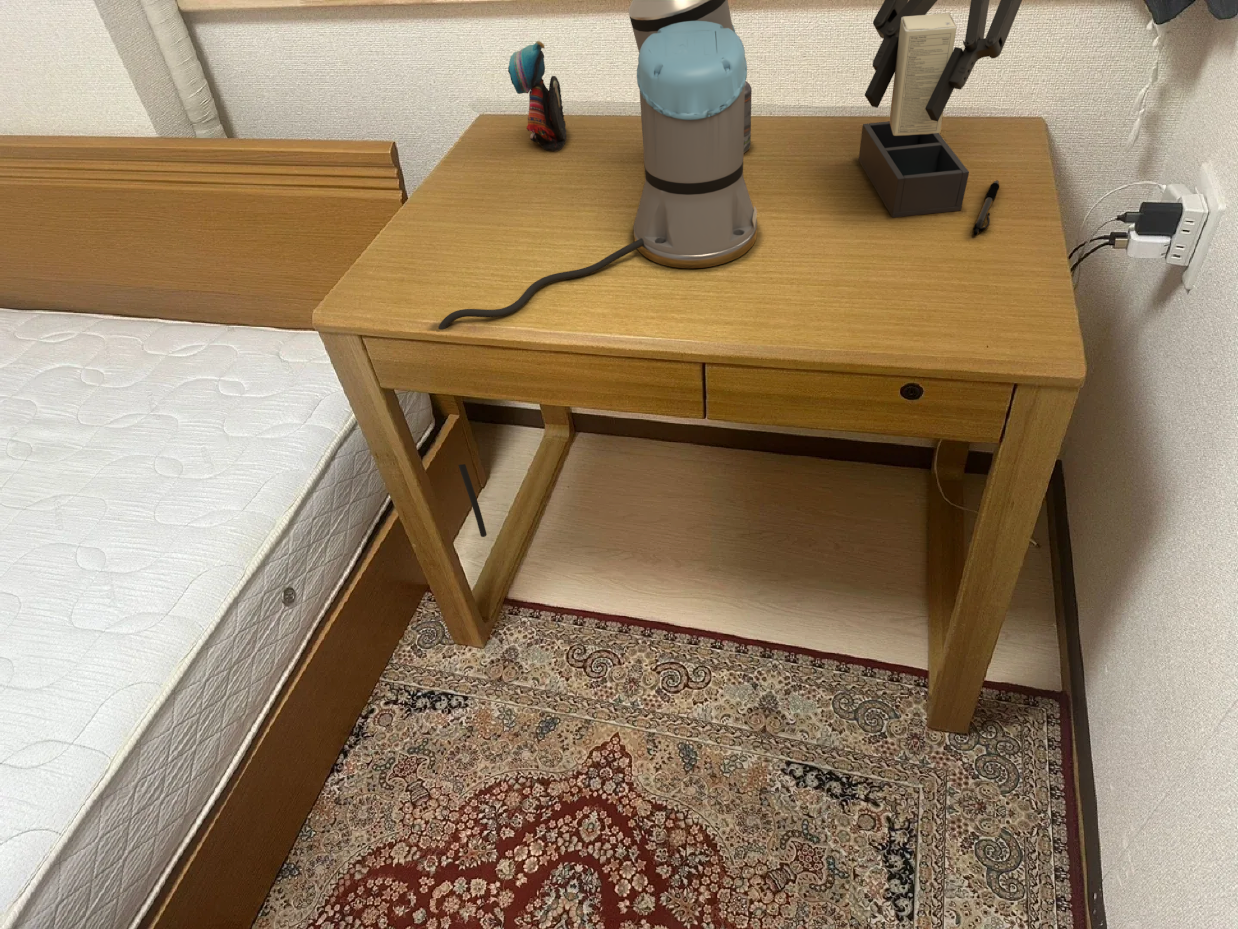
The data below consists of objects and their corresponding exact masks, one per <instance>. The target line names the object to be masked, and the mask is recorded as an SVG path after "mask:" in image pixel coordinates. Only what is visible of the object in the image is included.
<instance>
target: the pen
mask: <svg viewBox="0 0 1238 929" xmlns="http://www.w3.org/2000/svg"><path fill="white" fill-rule="evenodd" d="M999 189H1000V181H999V180H998V179H996V180H994V181H993V182H992V183H990V186H989V188H988V191H987V193H986V195H985V198H984V202H983V204H982V207H981V209H980V211H979V214H978V216H977V219H976V220H975V223H974V224H973V228H972V235H973V236H974V237H975V236H978V234H980V233H983V232H985V231H986V230H987V229H989V227H990V223H991V219H990V216H991V212H990V209H991V207H992V205H993V202H994V201H995V199H996V198H997V194H998V191H999ZM985 221H986V225H985Z"/></svg>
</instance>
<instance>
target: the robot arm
mask: <svg viewBox="0 0 1238 929" xmlns="http://www.w3.org/2000/svg"><path fill="white" fill-rule="evenodd" d="M937 2H938V0H884V1H883V3H882V4H881V6H880V8H879V10H878V12H877V13H876V15H875V17H874V19H873V21H872V24H873V27H874V28H875V30H876V32H877V34H878V35H879V37H880V38H881V39H882V41H881V43H880V45H879V48H878V49H877V51H876V54H875V56H874V57H873V60H872V67H873V69H874V74H873V76H872V78H871V79H870V82H869V85H868V87H867V88H866V90H865V93H864V96H865V99H867V101H868V103H869V105H870V106H871V107H873V108H875V109H876V108H877V109H878V108H879V107H880V104H881V102H882V100H883V98H884V96H885V94H886V92H887V89H888V87H889V85H890V83H891V81H892V79H893V78H894V76H895V67H896V59H897V50H898V41H899V32H900V24H901V18H902V17H904V16H918V15H927V14H928V13H929V11H930V10H931V9H932V8H933V6H934V5H935V4H936V3H937ZM1022 2H1023V0H1000V1H999V3H998V6H997V9H996V11H995V13H994V15H993V19H992V21H991V23H990V26H989V28H988V31H987V33H986V35H985V32H986V25H987V20H988V12H989V7H990V6H989V5H990V0H970V4H969V12H968V19H967V24H966V25H967V26H966V31H965V38H964V40H962V44H963V47H964V48H962V47H957V46H954V47H953V52H952V54H951V56H950V58H949V60H948V62H947V64H946V67H945V69H944V71H943V73H942V75H941V77H940V79H939V81H938V83H937V85H936V87H935V89H934V91H933V93H932V95H931V97H930V99H929V102H928V104H927V106H926V108H925V109H926V111H927V113H928V115H929V117H930V119H931V120H933V121H937V122H938V120H939V118H940V116H941V114H942V112H943V113H944V111H943V110H945V108H946V106H947V104H948V102H949V100H950V98H951V96H952V94H953V91H954V90H962V89H963V88H964V87H965V85H966V84H967V81H968V80H969V77H970V75H971V74H972V71H973V70H974V67H975V66H976V64H977V62H978V61H979V60H981V59H982V58H988V57H989V58H990V59H996V58H998V57H1000V55H1001V54H1002V51H1003V49H1004V46H1005V44H1006V41H1007V39H1008V37H1009V34H1010V31H1011V29H1012V27H1013V24H1014V21H1015V19H1016V17H1017V15H1018V12H1019V9H1020V7H1021V5H1022ZM730 10H731V9H730V6H729V1H728V0H631V3H630V5H629V7H628V16H629V20H630V24H631V28H632V32H633V35H634V40H635V43H636V47H637V51H638V58H637V61H638V62H637V66H636V83H637V87H638V89H639V102H640V105H639V106H640V120H641V134H642V137H641V138H642V151H643V165H644V167H643V168H644V185H643V189H642V192H641V196H640V200H639V204H638V207H637V211H636V215H635V218H634V223H633V238H634V239H633V240H634V241H633V242H631V243H630V244H627V245H625V246H624V247H621V248H619V249H618V250H616V251H614V252H612V253H611V254H609V255H607V256H606V257H604V258H602V259H601V260H599V261H597V262H595V263H593V264H592V265H589V266H585V267H582V268H578V269H574V270H567V271H562V272H557V273H553V274H549V275H546V276H544V277H541V278H539V279H537V280H536V281H534V282H533V283H532V284H531V285H530V286H528V287H527V289H525V291H524V292H523V293H522V295H521V296H520V297H519V298H518V299H517V300H516V301H515V302H513V303H511V304H510V305H507V306H505V307H502V308H497V309H486V308H485V309H482V308H464V309H458V310H455V311H453V312H451V313H449V314H448V315H446V316H445V317H444V318H443V319H442V320H441V322H440V323H439V325H438V328H437V329H438V330H446V329H447V328H448V327H449V326H450V325H451V324H452V323H454V322H455V321H456V320H459V319H462V318H471V317H473V318H501V317H505V316H508V315H511V314H513V313H516V312H517V311H518V310H520V309H521V308H522V307H524V306H525V305H526V304H527V303H528V302H529V300H530V299H531V297H533V295H534V294H535V293H536V292H537V291H539V290H540V289H541V288H543V287H544V286H546V285H549V284H551V283H552V284H553V283H554V282H559V281H563V280H565V281H566V280H570V279H575V278H581V277H585V276H588V275H590V274H594V273H596V272H598V271H600V270H602V269H604V268H605V267H607V266H610V264H612V263H614V262H616V261H618V260H619V259H622V257H624V256H626V255H629V254H630V253H632V252H634V251H636V250H638V252H639V253H640V254H641V255H642V256H643V257H644V258H646V259H648V260H650V261H652V262H654V263H657V264H659V265H663V266H666V267H670V268H671V267H672V268H677V269H702V268H710V267H716V266H720V265H723V264H727V263H729V262H732V261H734V260H737V259H738V258H740V257H741V256H743V255H745V254H746V253H747V252H749V250H751V248H752V247H753V246H754V244H755V243H756V240H757V236H758V235H757V234H758V219H757V216H758V210H757V207H756V206H754V205H753V203H752V199H751V195H750V194H749V190H748V187H747V184H746V180H745V179H744V153H743V151H744V101H745V81H747V77H748V64H747V63H748V62H747V59H746V50H745V46H744V44H743V41H742V39H741V38H740V36H739V35H738V33H737V32H736V28H735V27H734V24H733V21H732V16H731V11H730ZM458 469H459V472H460V474H461V477H462V479H463V480H462V481H463V483H464V486H465V490H466V491H467V495H468V498H469V501H470V504H471V507H472V510H473V513H474V517H475V520H476V524H477V528H478V531H479V535H480V537H481V538H485V537H487V535H488V534H487V529H486V526H485V522H484V519H483V515H482V512H481V508H480V505H479V502H478V499H477V496H476V495H477V494H476V492H475V489H474V486H473V484H472V480H471V477H470V474H469V471H468V468H467V465H466V463H464V464H463V463H462V464H458Z"/></svg>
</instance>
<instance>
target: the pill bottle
mask: <svg viewBox="0 0 1238 929" xmlns="http://www.w3.org/2000/svg"><path fill="white" fill-rule="evenodd" d="M752 90H753V89H752V85H751V84H750V83H749V82H748V81H747V80H746V81H745V101H744V151H743V154H745V153H747V152H748V151H749V150H750V148H751V142H752V138H751V137H752V92H753V91H752Z"/></svg>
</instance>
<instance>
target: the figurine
mask: <svg viewBox="0 0 1238 929" xmlns="http://www.w3.org/2000/svg"><path fill="white" fill-rule="evenodd" d="M542 49H545V44H544V43H543V42H542V41H541V40H537V41H536V42H535V43H533V44H529V45H526V46H525V47H523V48H521V49H520V50H517V51H514V52H513V53H512V54H511V56H510V58H509V62H508V67H507V72H508V74H509V78H510V81H511V84H512V85H513V88H514V90H515V92H516V94H518V95H521V94H522V95H523V94H529V95H528V99H529V102H528V103H529V104H528V115H527V126H526V129H525V130H527V131H528V132H531V133H530V136H529V137H530V138H529V139H530V141H532V142H533V143H537V144H538V145H539V146H540V147H542V149H543V150H545V151H547V152H559V151H561V150H562V149H563V148H564V147H565V145H566V142H567V128H566V125H567V124H566V121H565V119H564V118H565V115H564V110H563V109H564V107H563V99H562V92H561V91H562V90H561V85H560V84H561V83H560V81H559V79H558V78H557V76H556V75H552V76H550V79H549V80H550V81H549V84H548V85H549V86H548V87H547V86H546V85H545V82H544V80H545V79H543V77H544V75H545V72H546V65H545V54H544V52H543V51H542Z"/></svg>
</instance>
